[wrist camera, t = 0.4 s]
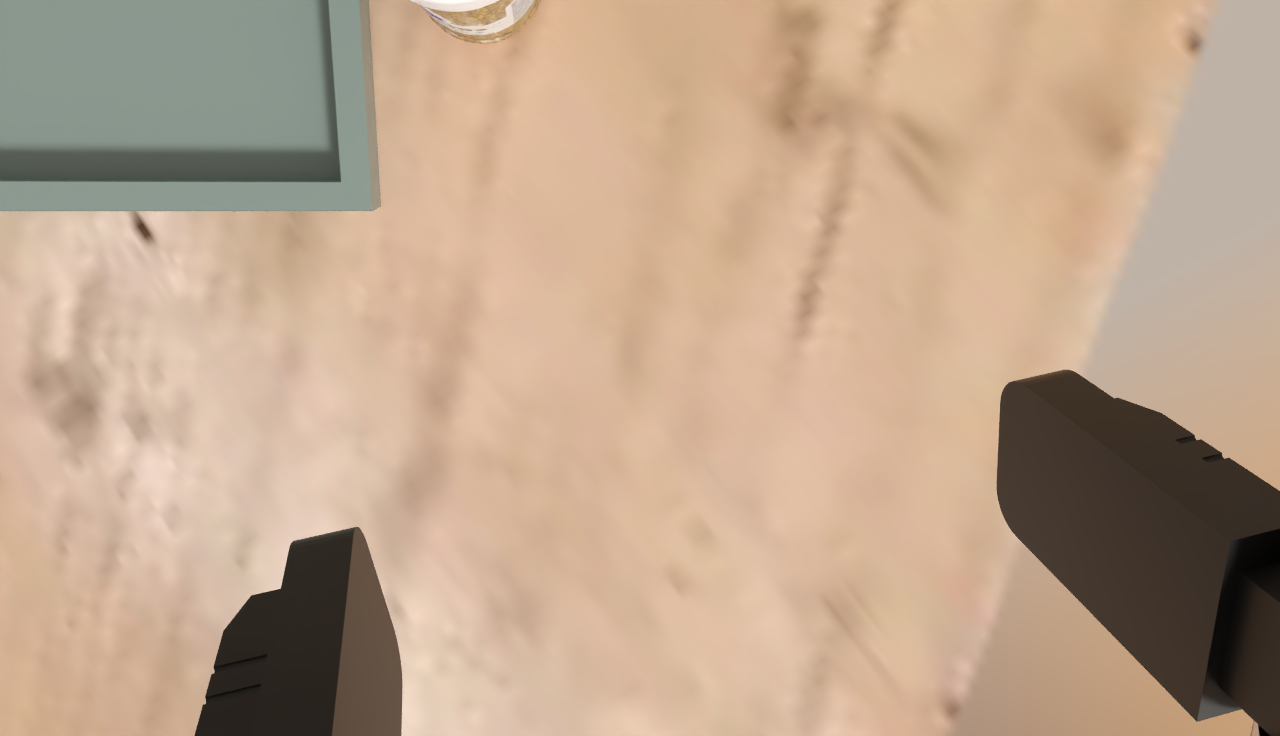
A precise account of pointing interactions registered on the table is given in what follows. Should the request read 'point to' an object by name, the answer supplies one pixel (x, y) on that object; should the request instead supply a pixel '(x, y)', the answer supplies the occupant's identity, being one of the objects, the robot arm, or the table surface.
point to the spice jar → (480, 17)
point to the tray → (187, 106)
